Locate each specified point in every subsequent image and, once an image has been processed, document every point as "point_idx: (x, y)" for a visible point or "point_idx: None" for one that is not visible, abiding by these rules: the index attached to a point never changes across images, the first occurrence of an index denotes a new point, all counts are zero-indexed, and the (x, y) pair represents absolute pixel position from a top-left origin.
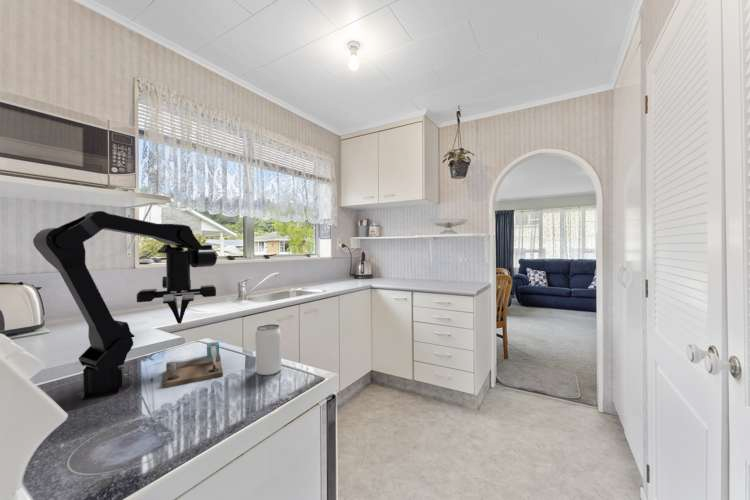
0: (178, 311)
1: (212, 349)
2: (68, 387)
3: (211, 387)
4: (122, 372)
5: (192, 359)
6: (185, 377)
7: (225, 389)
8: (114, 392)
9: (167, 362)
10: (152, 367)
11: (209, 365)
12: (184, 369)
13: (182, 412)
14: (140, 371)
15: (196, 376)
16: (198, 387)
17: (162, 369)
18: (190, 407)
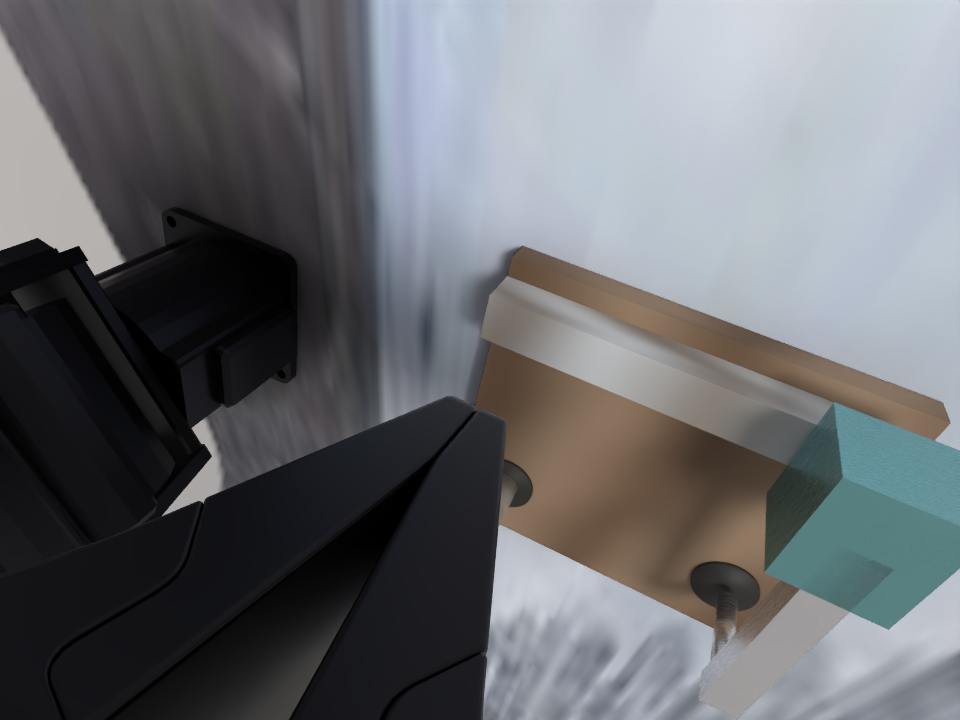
0: (309, 574)
1: (751, 661)
2: (65, 63)
3: (632, 658)
4: (244, 386)
5: (667, 404)
6: (556, 530)
7: (666, 715)
8: (281, 378)
9: (493, 302)
10: (445, 44)
11: (758, 495)
12: (593, 415)
13: (485, 692)
14: (367, 83)
15: (607, 566)
16: (588, 612)
17: (502, 179)
18: (512, 693)
